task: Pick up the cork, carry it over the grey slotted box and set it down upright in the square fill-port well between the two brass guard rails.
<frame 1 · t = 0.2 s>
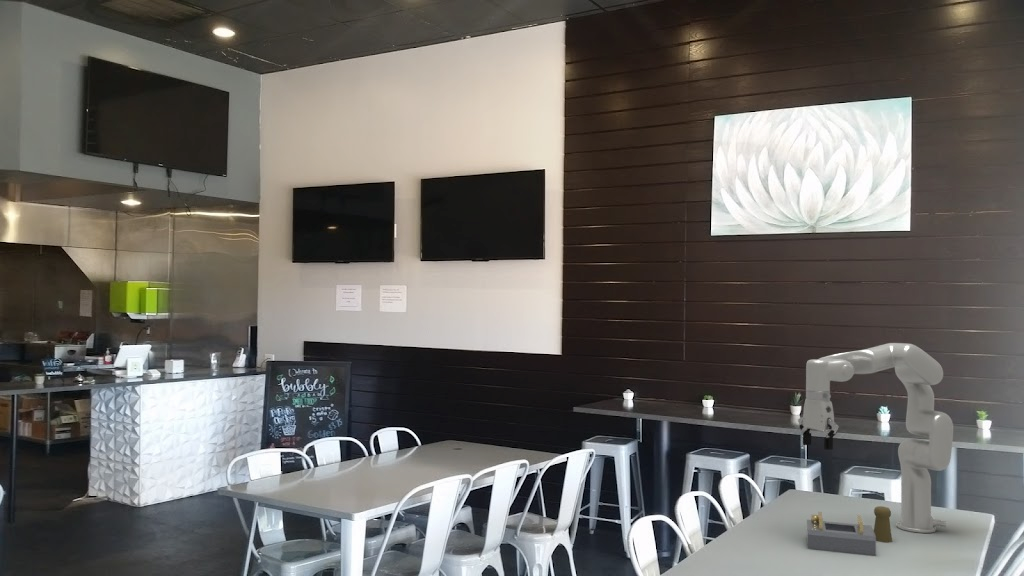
hand: (817, 447, 271), 31 cm above the table, tool pointing down, fingers open, 9 cm apart
grey slotted box: (840, 546, 261), on the table
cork: (882, 540, 270), on the table
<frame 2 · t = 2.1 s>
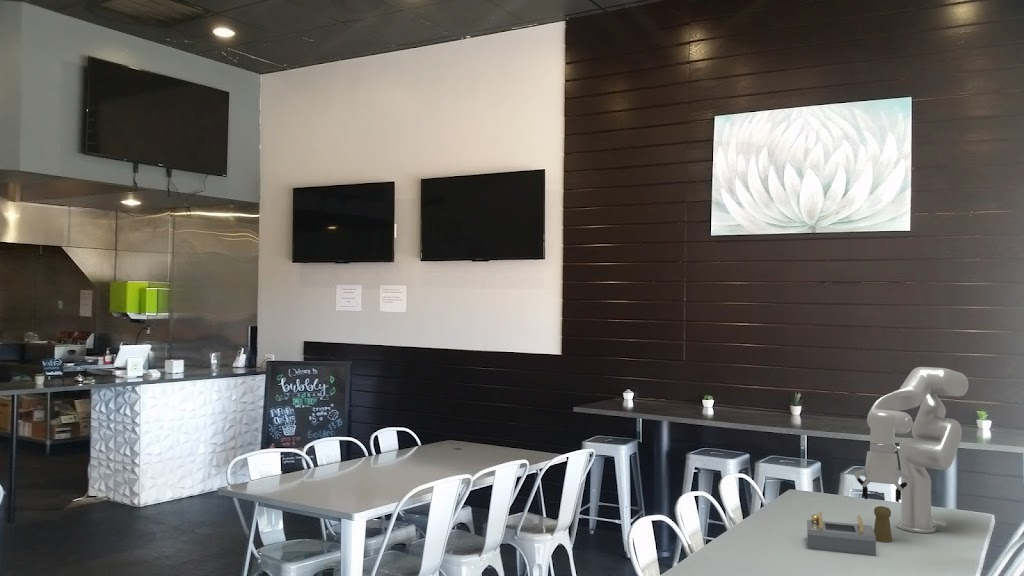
hand: (881, 500, 270), 13 cm above the table, tool pointing down, fingers open, 9 cm apart
nothing on the table moved.
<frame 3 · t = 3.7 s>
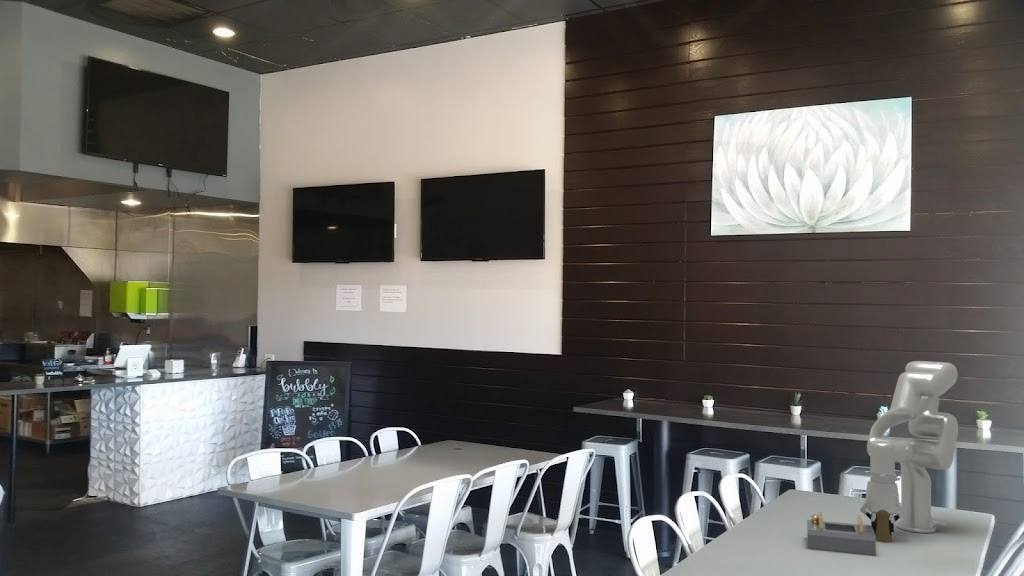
hand: (882, 532, 270), 2 cm above the table, tool pointing down, fingers closed on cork, 4 cm apart
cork: (882, 540, 270), on the table, touching gripper
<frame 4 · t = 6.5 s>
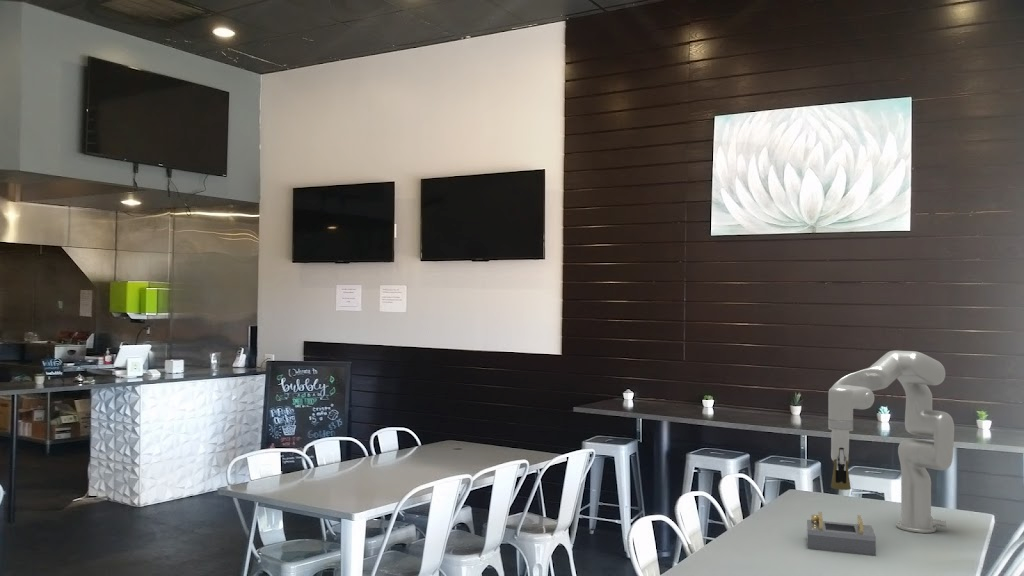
hand: (840, 480, 262), 21 cm above the table, tool pointing down, fingers closed on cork, 4 cm apart
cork: (840, 488, 262), point 19 cm above the table, touching gripper
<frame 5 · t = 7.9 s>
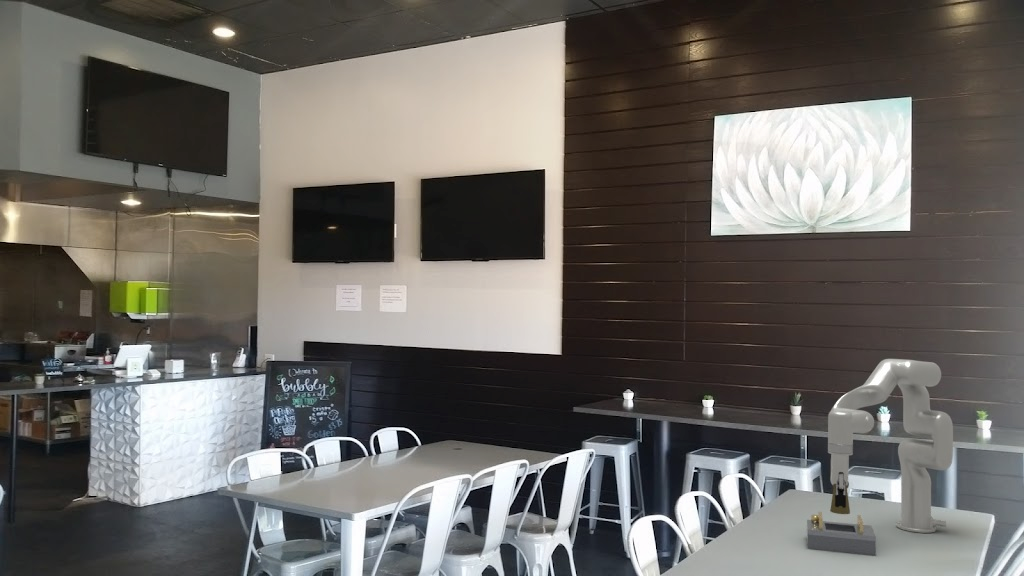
hand: (839, 504, 262), 13 cm above the table, tool pointing down, fingers closed on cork, 4 cm apart
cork: (840, 512, 262), point 11 cm above the table, touching gripper
when the fingers open (8 cm above the table, at t = 9.3 s): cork stays where it is, resting on grey slotted box.
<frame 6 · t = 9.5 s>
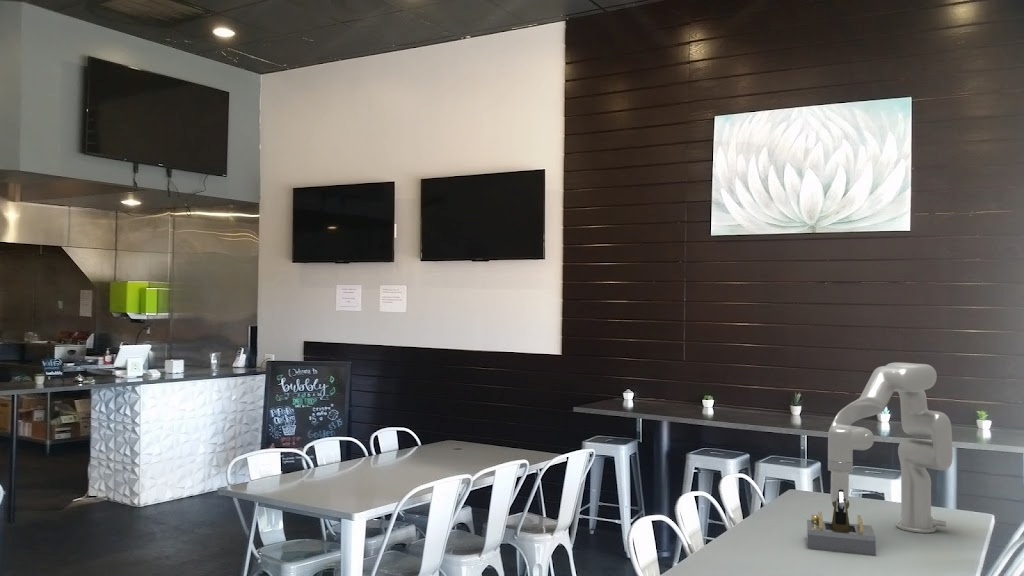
hand: (840, 521, 262), 8 cm above the table, tool pointing down, fingers open, 6 cm apart
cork: (840, 532, 262), point 4 cm above the table, touching grey slotted box
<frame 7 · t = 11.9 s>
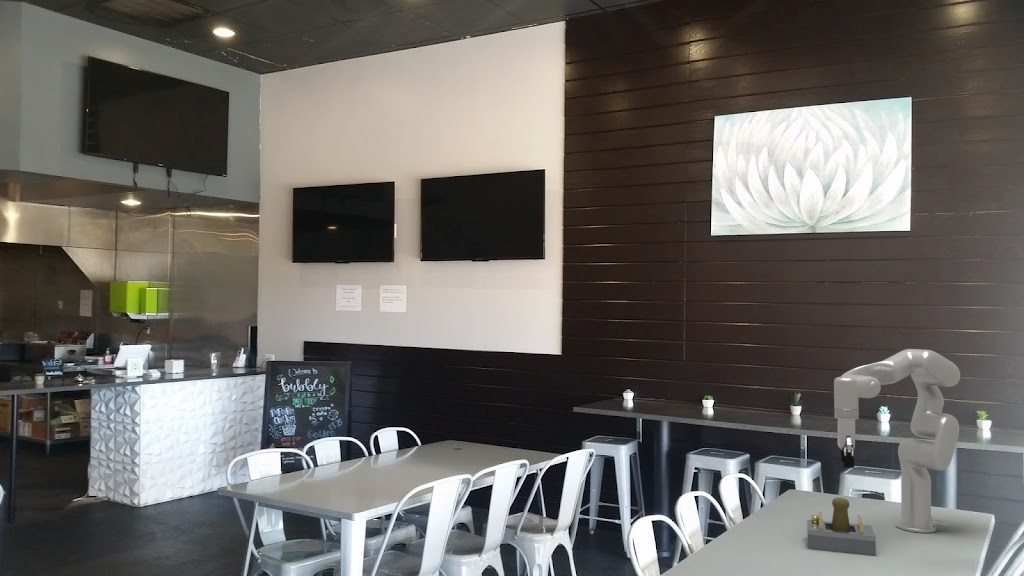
hand: (847, 464, 271), 25 cm above the table, tool pointing down, fingers open, 9 cm apart
nothing on the table moved.
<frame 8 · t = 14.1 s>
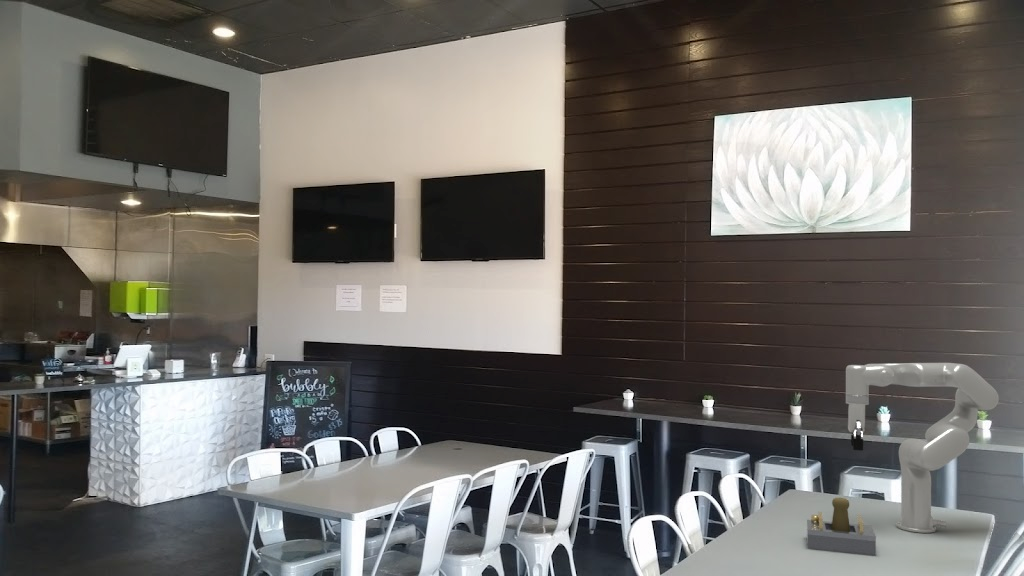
hand: (857, 448, 286), 28 cm above the table, tool pointing down, fingers open, 9 cm apart
nothing on the table moved.
at the end: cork 0.3 cm off-centre on the grey slotted box, point 4.3 cm above the grey slotted box's base; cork tilted 0°; the gripper is holding nothing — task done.
